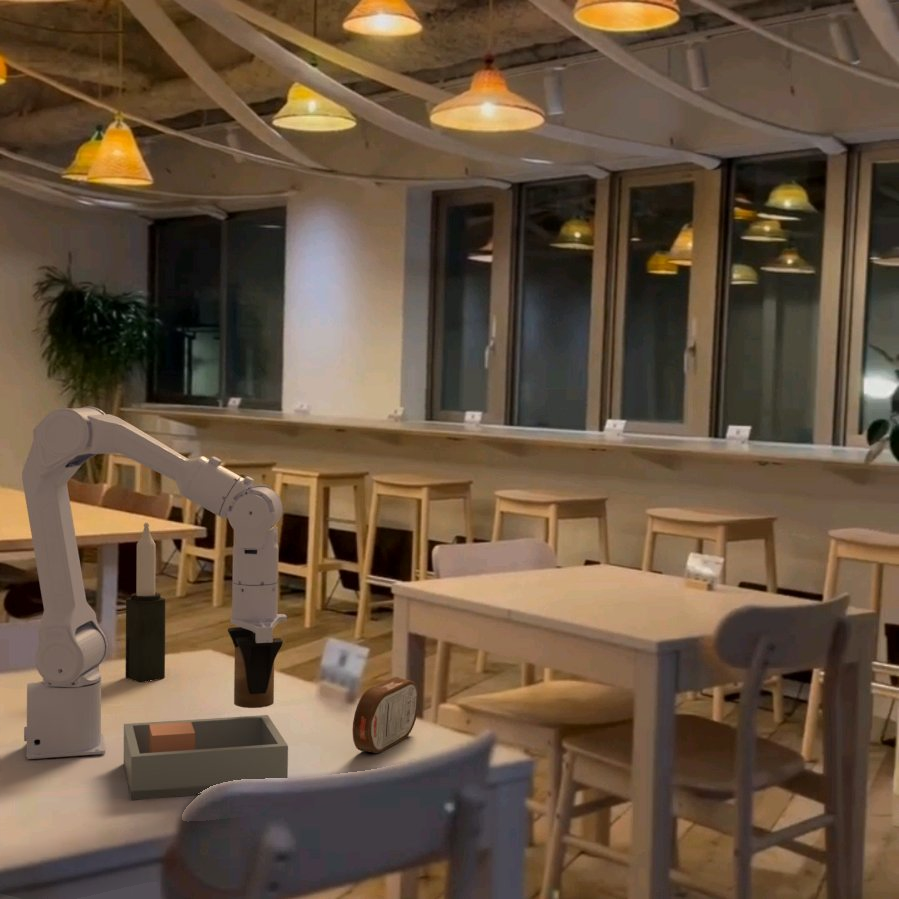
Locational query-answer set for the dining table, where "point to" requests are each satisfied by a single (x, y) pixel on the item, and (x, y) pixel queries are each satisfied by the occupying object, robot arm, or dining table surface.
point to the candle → (145, 618)
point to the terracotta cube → (171, 737)
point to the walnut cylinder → (241, 689)
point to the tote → (204, 757)
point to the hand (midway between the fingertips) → (253, 687)
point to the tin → (385, 715)
